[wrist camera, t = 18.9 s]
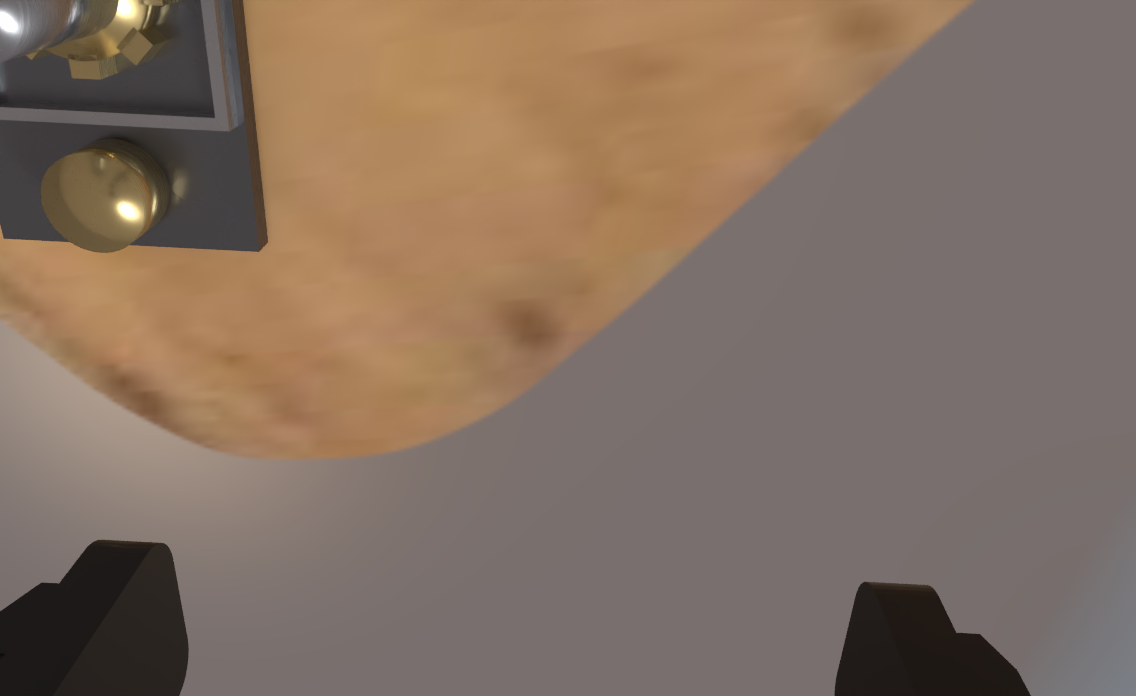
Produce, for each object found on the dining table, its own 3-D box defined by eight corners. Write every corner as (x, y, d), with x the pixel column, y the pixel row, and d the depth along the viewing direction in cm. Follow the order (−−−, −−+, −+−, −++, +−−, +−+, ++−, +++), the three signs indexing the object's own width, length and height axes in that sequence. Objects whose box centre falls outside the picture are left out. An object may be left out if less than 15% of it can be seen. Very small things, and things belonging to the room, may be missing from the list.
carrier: (-77, -189, 34) (-150, -197, 31) (224, -173, 34) (184, -179, 31) (19, 229, 41) (-32, 259, 38) (268, 242, 41) (239, 273, 38)
